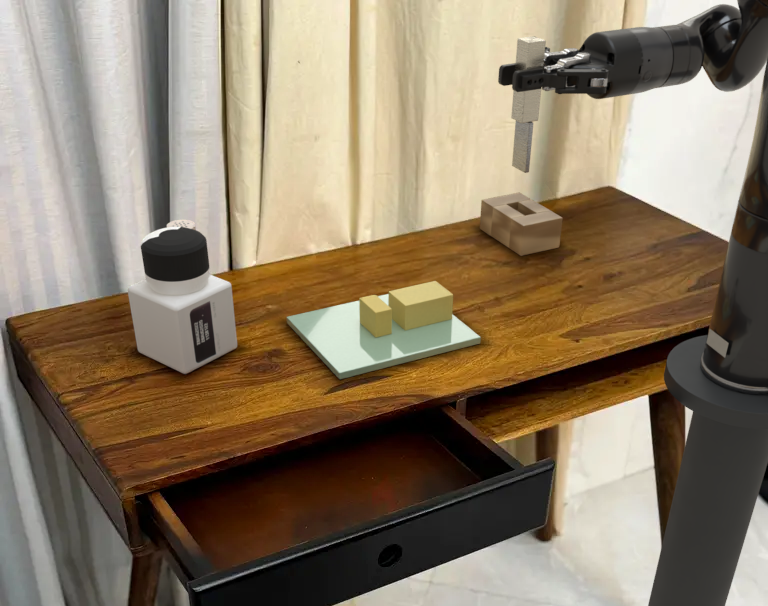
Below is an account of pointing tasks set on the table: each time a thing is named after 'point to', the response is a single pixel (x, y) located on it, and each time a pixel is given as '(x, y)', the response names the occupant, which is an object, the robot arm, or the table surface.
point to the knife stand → (520, 223)
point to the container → (181, 302)
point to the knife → (526, 101)
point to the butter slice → (375, 315)
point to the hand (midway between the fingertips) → (507, 78)
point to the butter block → (420, 305)
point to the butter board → (374, 339)
